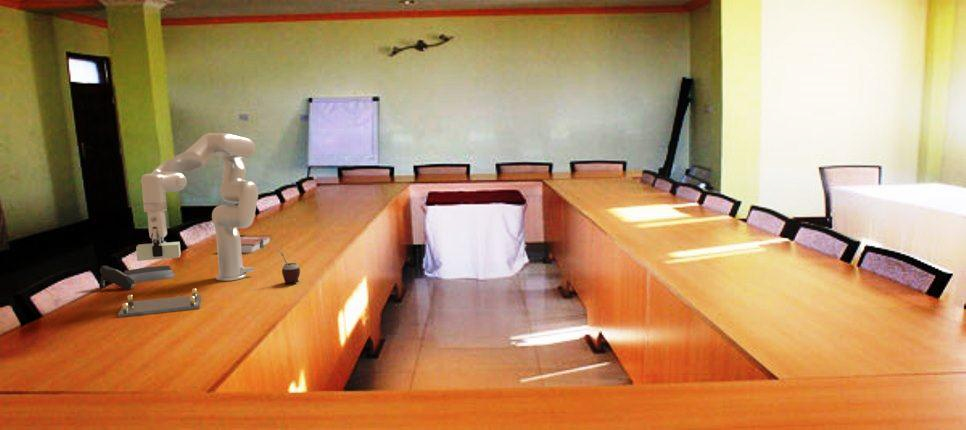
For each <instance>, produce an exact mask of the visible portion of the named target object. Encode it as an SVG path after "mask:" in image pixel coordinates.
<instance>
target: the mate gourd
mask: <svg viewBox="0 0 966 430" xmlns="http://www.w3.org/2000/svg"><path fill="white" fill-rule="evenodd" d="M275 250H276V251H278V252H279V253H280V254H281V256H282V259H283V260H284V263H285V264H283V266H282V269H281V273H282V274H281V275H282V277H283V279H284V285H291V284H292V285H295V286H296V285H297V283H299V277H300V275H301V270H300V265H298V263H296V262H287V259H286V257H285V253H284V252H282V251H281V250H280V249H278V248H275Z"/></svg>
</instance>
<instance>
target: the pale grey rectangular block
mask: <svg viewBox="0 0 966 430" xmlns="http://www.w3.org/2000/svg"><path fill="white" fill-rule="evenodd" d="M161 246H162V253H163V256H160V257H153V252H152V243H142V244H138V245H136V247H135V249H136V260H137V261H138V262H139V261H140V262H141V261H142V262H143V261H151V260H152V261H153V260H166V259H178V258H180V257H181V254H182V253H181V243H180V241H171V242H164V243H161Z"/></svg>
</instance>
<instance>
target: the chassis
mask: <svg viewBox="0 0 966 430" xmlns="http://www.w3.org/2000/svg"><path fill="white" fill-rule="evenodd" d="M191 293H192V295H183V296H182V295H181V296H175V297H174V296H173V297H164V298H155V299H144V300H134V298H133V294H128V295H127V301H125V302H124V303H122V304H121V305H122V307H121V308H120V310H119V311H118V313H117V318H124V317H126V318H128V317H134V316H135V317H136V316H144V315H151V314H152V315H153V314H163V313H173V312H182V311H187V310H188V311H189V310H190V311H191V310H198V309H200V308H201V303H202V299H203V298H202V297H203V296H202V294H198V291H197V287H196V288H195V287H194V288H192V289H191Z"/></svg>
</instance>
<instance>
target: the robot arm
mask: <svg viewBox="0 0 966 430" xmlns="http://www.w3.org/2000/svg"><path fill="white" fill-rule="evenodd" d="M255 151H256V146H255V143H254V142H253V140H252V139H250V138H248V137H245V136H239V135H236V134H231V133H227V132H209V133H205V134H204V135H202V136H201V137H200V138H199V139H198V140H196V141H195V142H194V143H193V144H192V145H191V146H190V147H188V148H187V150H185V151H184V152H182V153H180V154H177V155H175V156H173V157H171V158H169V159H167V160H165V161H163V162H162V163H160V164H159V165H158V166H157V167H156V168H154V170H153V171H152V172H151V173H146V174H145V173H144V174H143V175H141V179H140V180H141V191H142V192H141V193H142V202H143V212H144V213H147V226H148V227H147V228H148V233H149V234H148V235H149V238H150V239H151V242H152V243H151V244H152V252H153V257H160V256H163V253H162V246H161V243H165V242H164V241H165V239H164V238H165V237H167V235H168V229H167V228H168V227H167V220H166V213H165V212H166V211H167V210H168V209H167V208H168V207H167V195H166V192H174V193H175V192H180V191H183V190H184V189H185V188H186V187H187V183H188V180H187V178H186V176H185V175H184V173H185V174H186V173H190V172H191V173H192V172H193V171H197V170H200V169H202V168H203V167H204V166H205V165H206V164H207V163H208V162H210V160H211V159H212V158H214V157H215V155H219V157H220V158H221V160H222V162H223V165H224V172H223V173H224V174H223V179H222V183H221V188H220V197H221V199H222V200H223V201H225V202H228V203H238V205H236V204H219V205H217V206H216V207H215V208H213V210H212V213H211V220H212V224H213V226H214V231H215V237H216V247H217V248H216V250H217V251H216V252H217V263H218V273H217V274H216V275H215V279H216V280H217V281H222V282H223V281H224V282H225V281H226V282H227V281H228V282H229V281H237V280H242V279H245V278H247V276H248V273H253V272H255V270H254V269H255V267H254V266H253V267H251V266H246V267H245V266H244V264H243V256H242V255H243V253H241V239H240V235H241V233H240V231H239V230H238V229H247V228H249V227H250V226H251V225H252V224H253V222H254V219H255V215H256V209H257V205H258V199H259V189H258V186H257V185H256V183H254V181H251V180H246V174H247V173H246V172H247V171H246V170H247V169H246V165H245V164H244V161H243V159H249V158H251V157H252V156H254V154H255Z"/></svg>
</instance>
